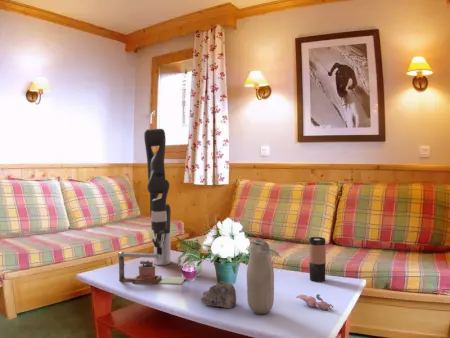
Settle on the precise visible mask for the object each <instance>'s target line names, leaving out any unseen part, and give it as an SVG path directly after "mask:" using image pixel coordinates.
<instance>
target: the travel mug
mask: <svg viewBox="0 0 450 338" xmlns="http://www.w3.org/2000/svg"><path fill="white" fill-rule="evenodd" d="M308 241H309V245H308V247H309V252H308V253H309V256H308V257H309V260H308V261H309V263H308V264H309V267H308V268H309V280H310V281H311V282H313V283H323V282H322V281H324V282H325V281H326V268H327V267H326V264H327V261H326V260H327V259H326V258H327V257H326V256H327V255H326V253H327V252H326V251H327V250H326V249H327V248H326V238H325V237H322V236H321V237H320V236H313V237H310V238H309V239H308Z"/></svg>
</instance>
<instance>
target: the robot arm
mask: <svg viewBox="0 0 450 338" xmlns="http://www.w3.org/2000/svg"><path fill="white" fill-rule="evenodd" d="M143 138H144V146H145V147H144V148H145V154H146V160H147V162H146V164H147V177H148V178H147V179H148V183H147V187H146V188H147V191H148V193H149V215H150V224H151V225H150V226H151V230H152V231H153V237H152V242H153V254H160V259H159V260H157V258H153V265H154V264H155V266H156V265H157V266H166V265H169V264H171V262H172V261H171V260H172V259H171V257H172V256H171V255H172V253H171V252H172V251H171V217H172V216H171V210H172V209H171V206H170V204H168V203H167V197H168V193H169V189H170V183H169V180H167V179H166V170H165V169H166V168H165V155H166V142H167V141H166V140H167V139H166V132H165V129H163V128H149V129H144V133H143ZM152 147H158V149H157V151H156V152H155V153H154V151H153V148H152ZM159 195H161V196H160V197H159Z"/></svg>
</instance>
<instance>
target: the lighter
mask: <svg viewBox="0 0 450 338" xmlns="http://www.w3.org/2000/svg"><path fill="white" fill-rule="evenodd" d="M139 264H140V265H139V266H138V273H139V274H138V275H139V279H155V275H156V265H154V261H150V260H145V261H144V260H141V261H140V262H139Z"/></svg>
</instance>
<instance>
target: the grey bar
mask: <svg viewBox="0 0 450 338" xmlns="http://www.w3.org/2000/svg"><path fill="white" fill-rule="evenodd" d="M117 257H118V258H119V257H124V258H125V257H126V258H147V259H148V258H152V259H154V258H157V260H159V259H160V254H154V252H153V253H147V252H146V253H145V252H125V251H119V252H117Z"/></svg>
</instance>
